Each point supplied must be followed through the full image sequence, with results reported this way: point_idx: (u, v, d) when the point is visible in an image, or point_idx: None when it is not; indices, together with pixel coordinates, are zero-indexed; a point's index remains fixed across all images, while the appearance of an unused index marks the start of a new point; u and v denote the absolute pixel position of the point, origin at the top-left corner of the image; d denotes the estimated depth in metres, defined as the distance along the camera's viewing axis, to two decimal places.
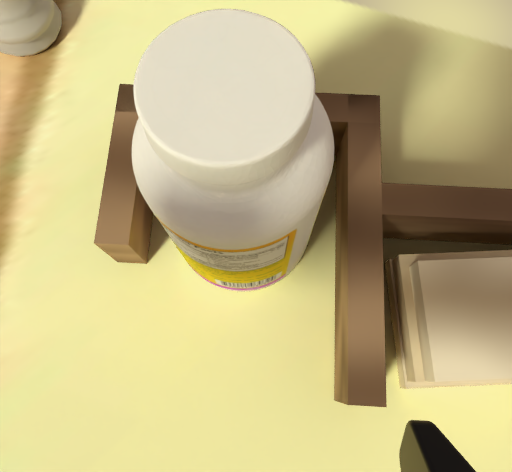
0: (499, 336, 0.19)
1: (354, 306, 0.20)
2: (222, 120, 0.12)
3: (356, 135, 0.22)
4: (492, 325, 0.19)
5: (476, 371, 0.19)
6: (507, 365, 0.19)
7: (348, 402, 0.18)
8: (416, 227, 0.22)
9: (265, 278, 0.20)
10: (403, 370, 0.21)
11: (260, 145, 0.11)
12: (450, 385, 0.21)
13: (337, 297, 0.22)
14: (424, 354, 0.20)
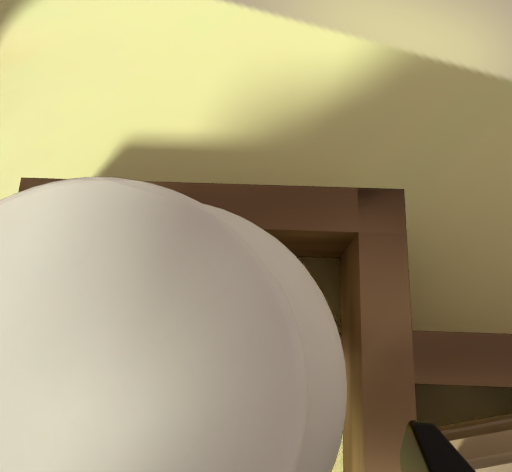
0: None
1: None
2: None
3: (371, 253, 0.15)
4: None
5: None
6: None
7: None
8: None
9: None
10: None
11: None
12: None
13: None
14: None
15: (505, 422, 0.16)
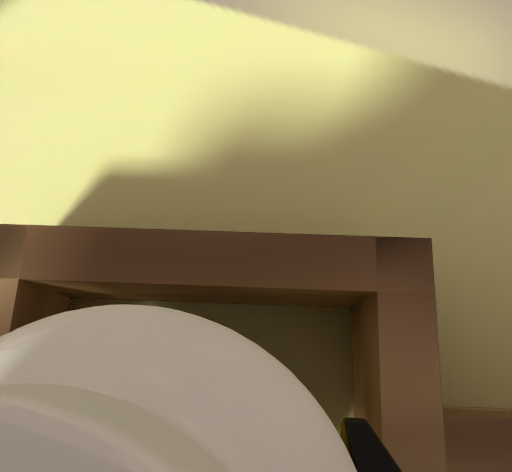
0: None
1: None
2: None
3: (393, 318, 0.12)
4: None
5: None
6: None
7: None
8: None
9: None
10: None
11: None
12: None
13: None
14: None
15: None
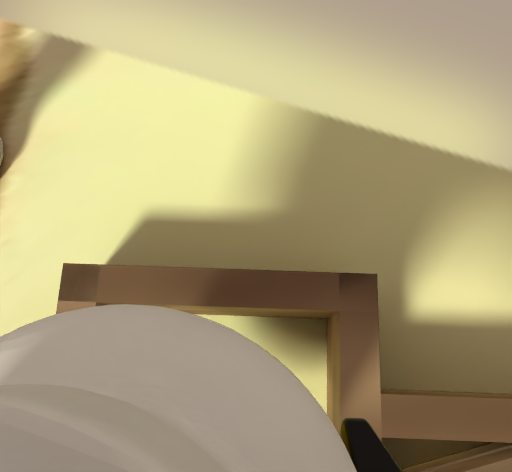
0: None
1: None
2: None
3: (349, 329, 0.18)
4: None
5: None
6: None
7: None
8: None
9: None
10: None
11: None
12: None
13: None
14: None
15: (454, 464, 0.19)
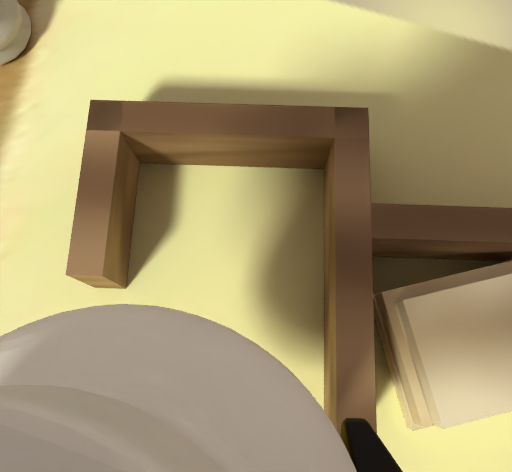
0: (500, 365, 0.18)
1: (342, 338, 0.18)
2: None
3: (343, 152, 0.20)
4: (491, 355, 0.18)
5: (483, 408, 0.18)
6: None
7: None
8: (408, 248, 0.21)
9: None
10: (407, 411, 0.20)
11: None
12: None
13: (326, 322, 0.21)
14: (426, 396, 0.19)
15: None
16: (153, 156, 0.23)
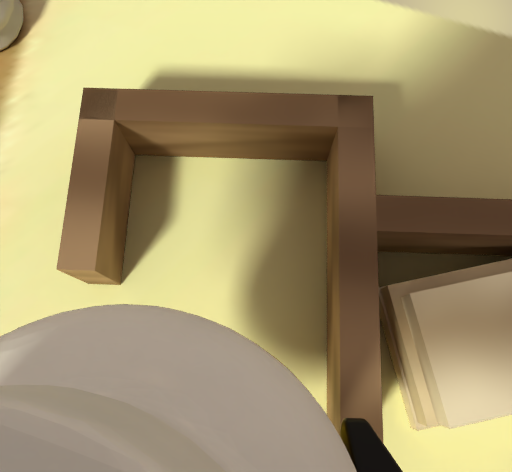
0: (511, 364, 0.17)
1: (346, 335, 0.18)
2: None
3: (347, 141, 0.20)
4: (501, 353, 0.18)
5: (492, 408, 0.17)
6: None
7: None
8: (415, 242, 0.20)
9: None
10: (411, 410, 0.19)
11: None
12: None
13: (329, 320, 0.20)
14: (432, 394, 0.18)
15: None
16: (149, 147, 0.22)
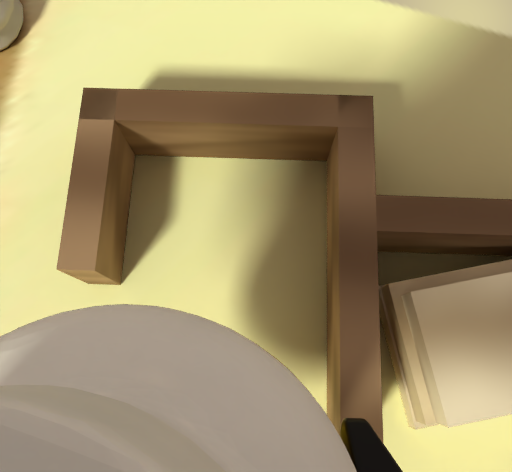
0: (510, 364, 0.17)
1: (346, 335, 0.18)
2: None
3: (347, 141, 0.20)
4: (501, 353, 0.18)
5: (491, 408, 0.17)
6: None
7: None
8: (415, 242, 0.20)
9: None
10: (410, 409, 0.19)
11: None
12: None
13: (329, 320, 0.20)
14: (431, 393, 0.18)
15: None
16: (149, 147, 0.22)
